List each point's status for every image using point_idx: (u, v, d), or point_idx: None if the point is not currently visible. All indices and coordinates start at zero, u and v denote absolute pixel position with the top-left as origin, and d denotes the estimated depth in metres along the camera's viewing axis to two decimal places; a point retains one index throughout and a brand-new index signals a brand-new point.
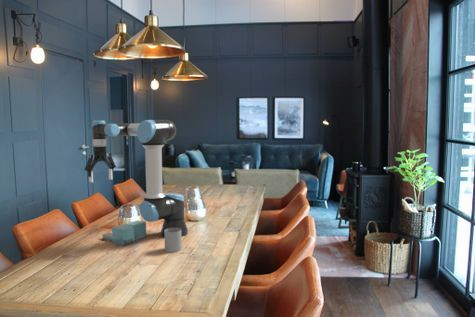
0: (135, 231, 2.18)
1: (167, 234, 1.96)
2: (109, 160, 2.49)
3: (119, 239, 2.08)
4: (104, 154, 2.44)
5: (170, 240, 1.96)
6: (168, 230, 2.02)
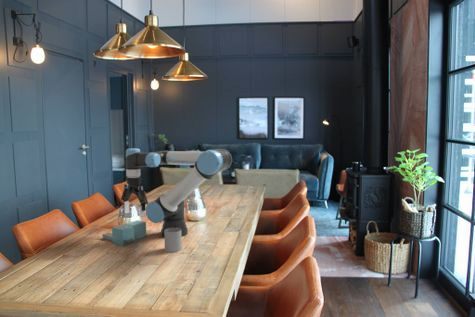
0: (135, 231, 2.18)
1: (167, 234, 1.96)
2: None
3: (119, 239, 2.08)
4: (134, 186, 2.18)
5: (170, 240, 1.96)
6: (168, 230, 2.02)
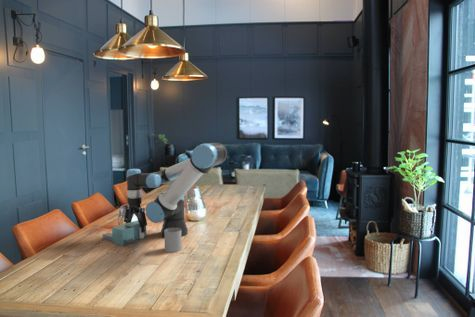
0: (135, 231, 2.18)
1: (167, 234, 1.96)
2: None
3: (119, 239, 2.08)
4: (135, 207, 2.19)
5: (170, 240, 1.96)
6: (168, 230, 2.02)
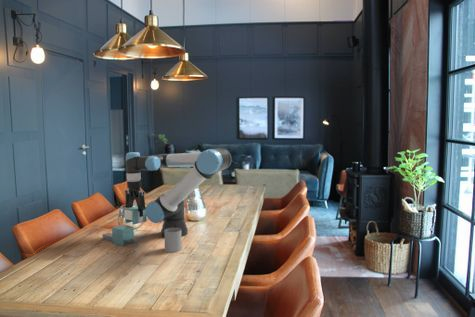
0: (135, 215, 2.17)
1: (167, 234, 1.96)
2: None
3: (119, 239, 2.08)
4: (135, 190, 2.18)
5: (170, 240, 1.96)
6: (168, 230, 2.02)
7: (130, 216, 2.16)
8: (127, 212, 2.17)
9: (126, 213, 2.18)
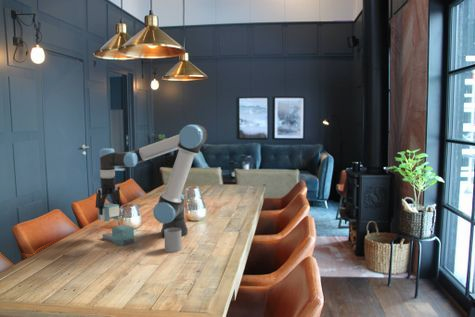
0: None
1: (167, 234, 1.96)
2: (116, 194, 2.21)
3: (119, 239, 2.08)
4: (113, 186, 2.17)
5: (170, 240, 1.96)
6: (168, 230, 2.02)
7: (117, 211, 2.16)
8: (113, 209, 2.14)
9: (112, 210, 2.13)
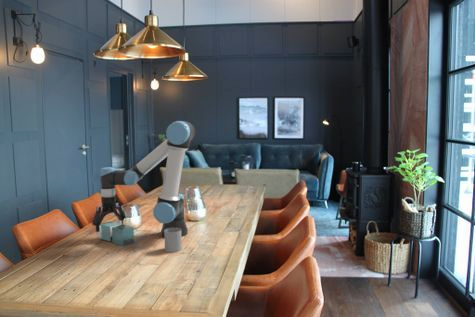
0: None
1: (167, 234, 1.96)
2: (118, 210, 2.23)
3: (119, 239, 2.08)
4: (113, 204, 2.18)
5: (170, 240, 1.96)
6: (168, 230, 2.02)
7: None
8: None
9: None
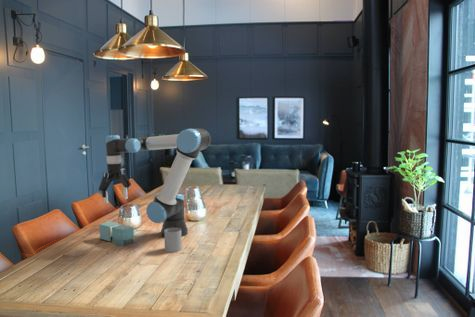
0: None
1: (167, 234, 1.96)
2: (124, 178, 2.29)
3: (119, 239, 2.08)
4: (119, 172, 2.24)
5: (170, 240, 1.96)
6: (168, 230, 2.02)
7: None
8: None
9: None
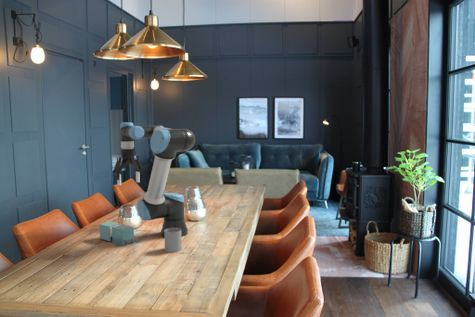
0: None
1: (167, 234, 1.96)
2: (136, 163, 2.45)
3: (119, 239, 2.08)
4: (132, 157, 2.40)
5: (170, 240, 1.96)
6: (168, 230, 2.02)
7: None
8: None
9: None
